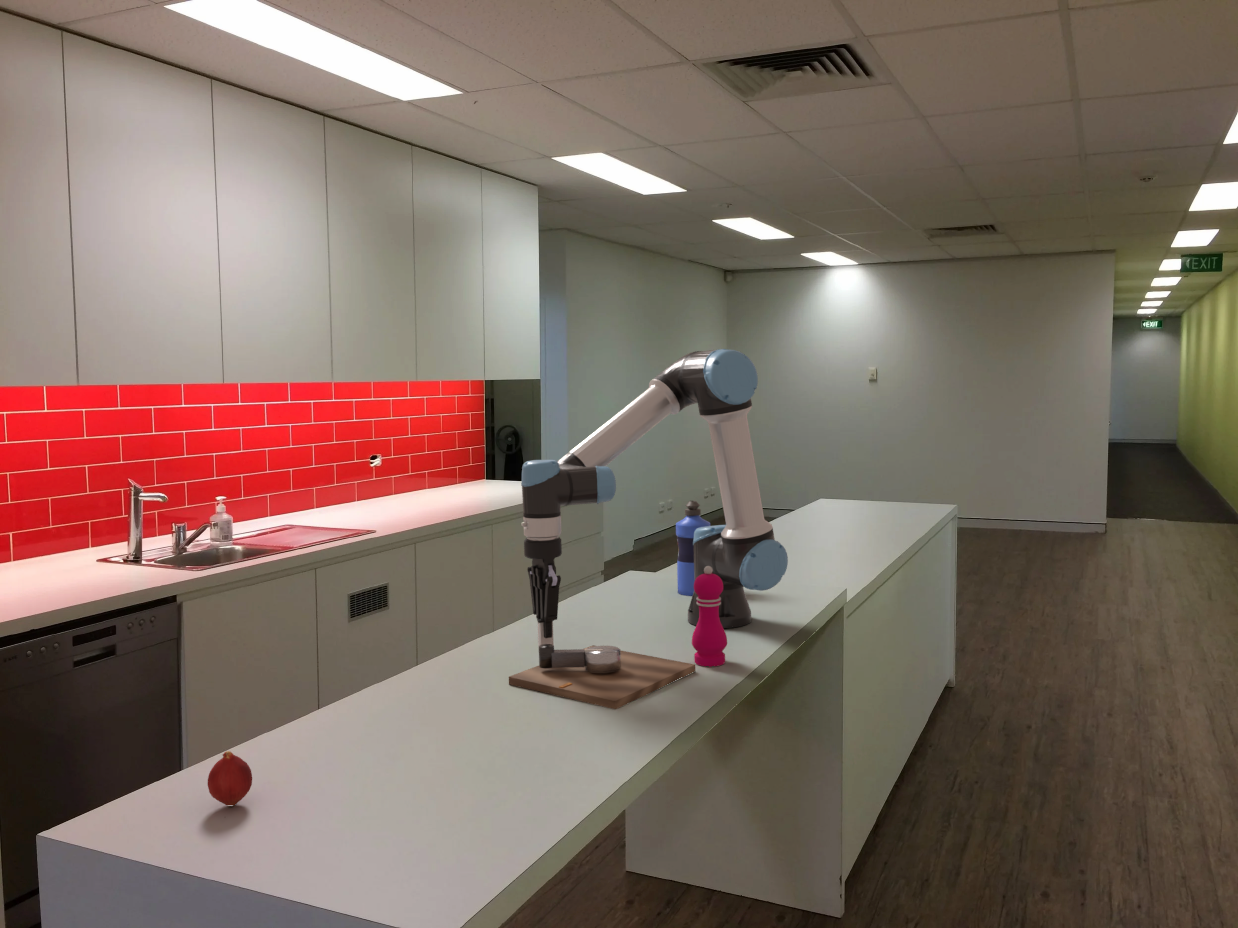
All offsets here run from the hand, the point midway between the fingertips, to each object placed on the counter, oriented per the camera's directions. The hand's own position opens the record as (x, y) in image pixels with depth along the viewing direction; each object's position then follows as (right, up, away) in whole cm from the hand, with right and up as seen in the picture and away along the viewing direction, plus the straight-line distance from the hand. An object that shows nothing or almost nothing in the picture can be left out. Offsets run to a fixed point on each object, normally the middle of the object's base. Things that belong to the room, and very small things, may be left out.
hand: (546, 651), depth 196 cm
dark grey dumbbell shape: (+7, -2, -7) cm, 10 cm away
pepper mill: (+33, -3, +2) cm, 33 cm away
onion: (-40, -10, -60) cm, 73 cm away
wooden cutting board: (+12, -4, -7) cm, 14 cm away
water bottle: (+35, +3, +67) cm, 76 cm away
